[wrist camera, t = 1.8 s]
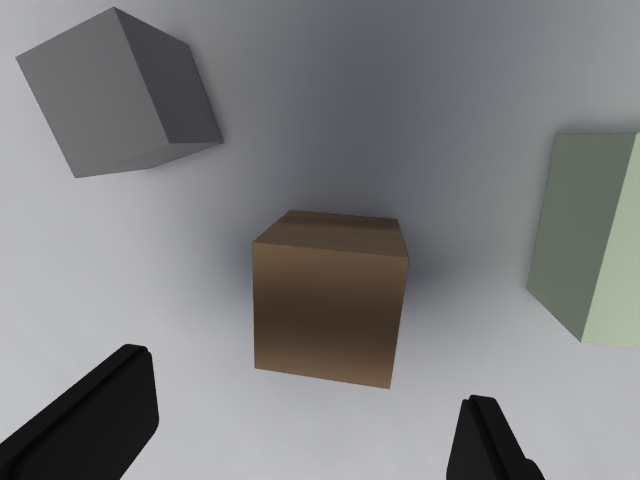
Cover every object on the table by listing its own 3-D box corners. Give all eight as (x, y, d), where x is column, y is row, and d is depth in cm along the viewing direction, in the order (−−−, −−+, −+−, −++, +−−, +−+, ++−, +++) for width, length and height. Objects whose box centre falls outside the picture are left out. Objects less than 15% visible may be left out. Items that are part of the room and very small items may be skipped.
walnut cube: (290, 210, 18) (252, 242, 12) (397, 219, 17) (409, 257, 12) (288, 303, 20) (254, 368, 14) (384, 315, 19) (389, 389, 13)
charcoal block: (112, 79, 17) (15, 57, 13) (188, 45, 16) (113, 6, 12) (150, 168, 19) (75, 178, 14) (224, 142, 17) (169, 143, 13)
